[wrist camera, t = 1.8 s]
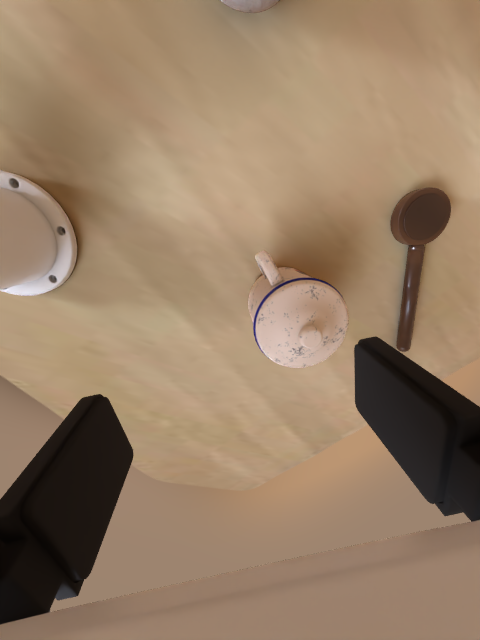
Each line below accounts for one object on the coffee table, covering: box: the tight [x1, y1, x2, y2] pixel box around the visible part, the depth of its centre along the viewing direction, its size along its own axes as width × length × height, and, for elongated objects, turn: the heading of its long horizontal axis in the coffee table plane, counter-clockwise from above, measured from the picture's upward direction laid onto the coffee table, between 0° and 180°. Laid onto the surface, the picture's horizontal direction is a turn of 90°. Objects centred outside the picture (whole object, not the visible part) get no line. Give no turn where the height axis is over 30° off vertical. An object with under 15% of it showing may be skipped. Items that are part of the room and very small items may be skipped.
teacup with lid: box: [248, 251, 349, 368], centre depth 25 cm, size 12×9×12 cm
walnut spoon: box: [391, 188, 451, 352], centre depth 30 cm, size 20×6×2 cm, turn 7°
